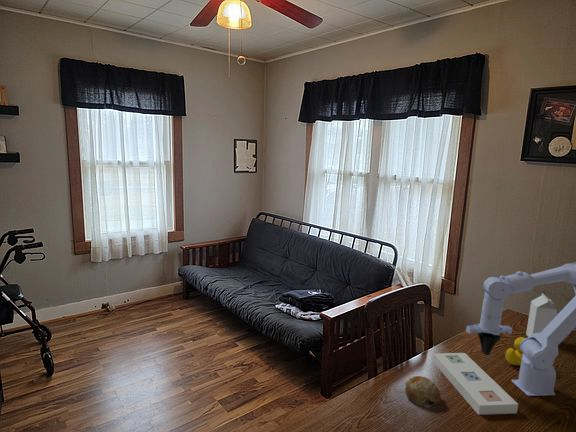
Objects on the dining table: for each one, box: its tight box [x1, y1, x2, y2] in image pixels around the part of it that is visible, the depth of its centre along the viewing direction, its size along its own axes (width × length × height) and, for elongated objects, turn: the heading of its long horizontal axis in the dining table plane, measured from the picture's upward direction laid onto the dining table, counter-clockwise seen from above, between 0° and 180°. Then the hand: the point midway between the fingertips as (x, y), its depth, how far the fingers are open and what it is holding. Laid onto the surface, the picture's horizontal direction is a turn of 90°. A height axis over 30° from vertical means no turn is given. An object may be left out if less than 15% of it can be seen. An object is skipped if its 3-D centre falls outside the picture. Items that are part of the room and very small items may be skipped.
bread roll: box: [404, 375, 441, 408], centre depth 115 cm, size 10×10×8 cm
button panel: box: [432, 352, 519, 416], centre depth 123 cm, size 12×28×3 cm, turn 6°
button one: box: [480, 392, 501, 401], centre depth 113 cm, size 4×4×3 cm
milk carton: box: [525, 292, 558, 338], centre depth 153 cm, size 7×7×19 cm
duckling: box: [504, 336, 526, 366], centre depth 135 cm, size 11×5×10 cm, turn 108°
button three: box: [462, 373, 480, 381], centre depth 122 cm, size 4×4×3 cm
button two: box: [447, 356, 463, 363], centre depth 132 cm, size 4×4×3 cm
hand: (485, 353), depth 123 cm, fingers closed
